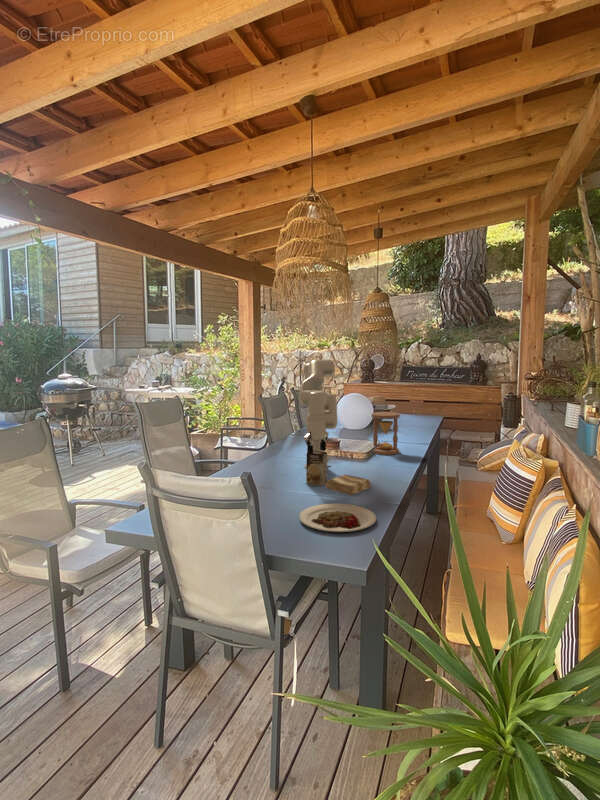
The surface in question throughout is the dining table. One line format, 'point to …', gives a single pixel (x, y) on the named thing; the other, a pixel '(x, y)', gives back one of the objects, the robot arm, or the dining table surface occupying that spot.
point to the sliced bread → (348, 484)
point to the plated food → (337, 517)
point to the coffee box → (316, 468)
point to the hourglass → (385, 425)
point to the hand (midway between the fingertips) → (316, 451)
